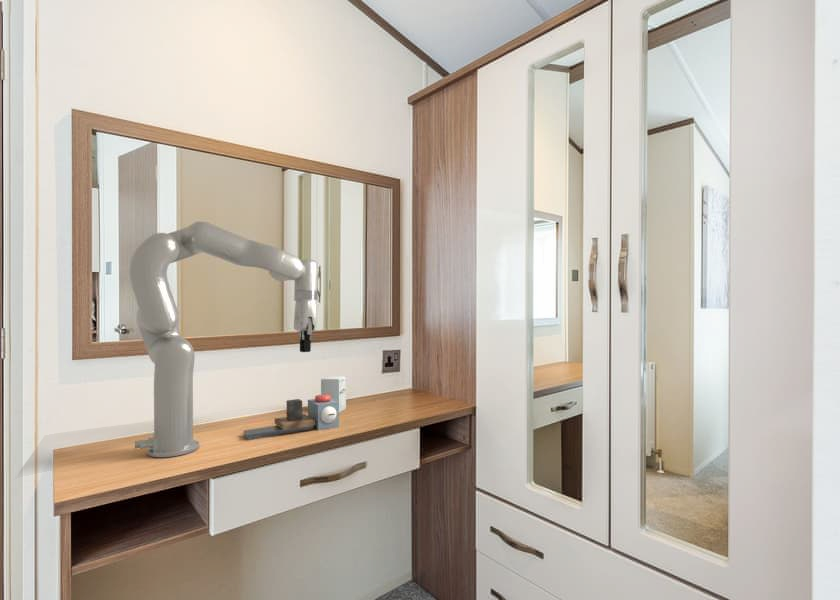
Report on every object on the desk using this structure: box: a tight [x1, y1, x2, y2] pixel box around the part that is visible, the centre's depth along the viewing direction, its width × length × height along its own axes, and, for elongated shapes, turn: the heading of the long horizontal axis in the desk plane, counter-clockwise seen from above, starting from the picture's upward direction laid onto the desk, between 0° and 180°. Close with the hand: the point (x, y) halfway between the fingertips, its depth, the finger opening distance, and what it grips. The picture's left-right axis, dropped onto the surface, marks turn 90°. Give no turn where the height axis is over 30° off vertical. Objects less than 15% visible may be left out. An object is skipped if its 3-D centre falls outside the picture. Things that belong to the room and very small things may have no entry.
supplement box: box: [320, 375, 347, 414], centre depth 168 cm, size 7×7×13 cm
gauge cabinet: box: [307, 398, 340, 431], centre depth 148 cm, size 7×10×8 cm
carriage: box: [274, 398, 315, 430], centre depth 143 cm, size 10×10×8 cm
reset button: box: [314, 394, 331, 402], centre depth 148 cm, size 5×5×2 cm
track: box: [242, 424, 314, 441], centre depth 140 cm, size 20×6×2 cm, turn 123°
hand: (305, 351), depth 149 cm, fingers closed
